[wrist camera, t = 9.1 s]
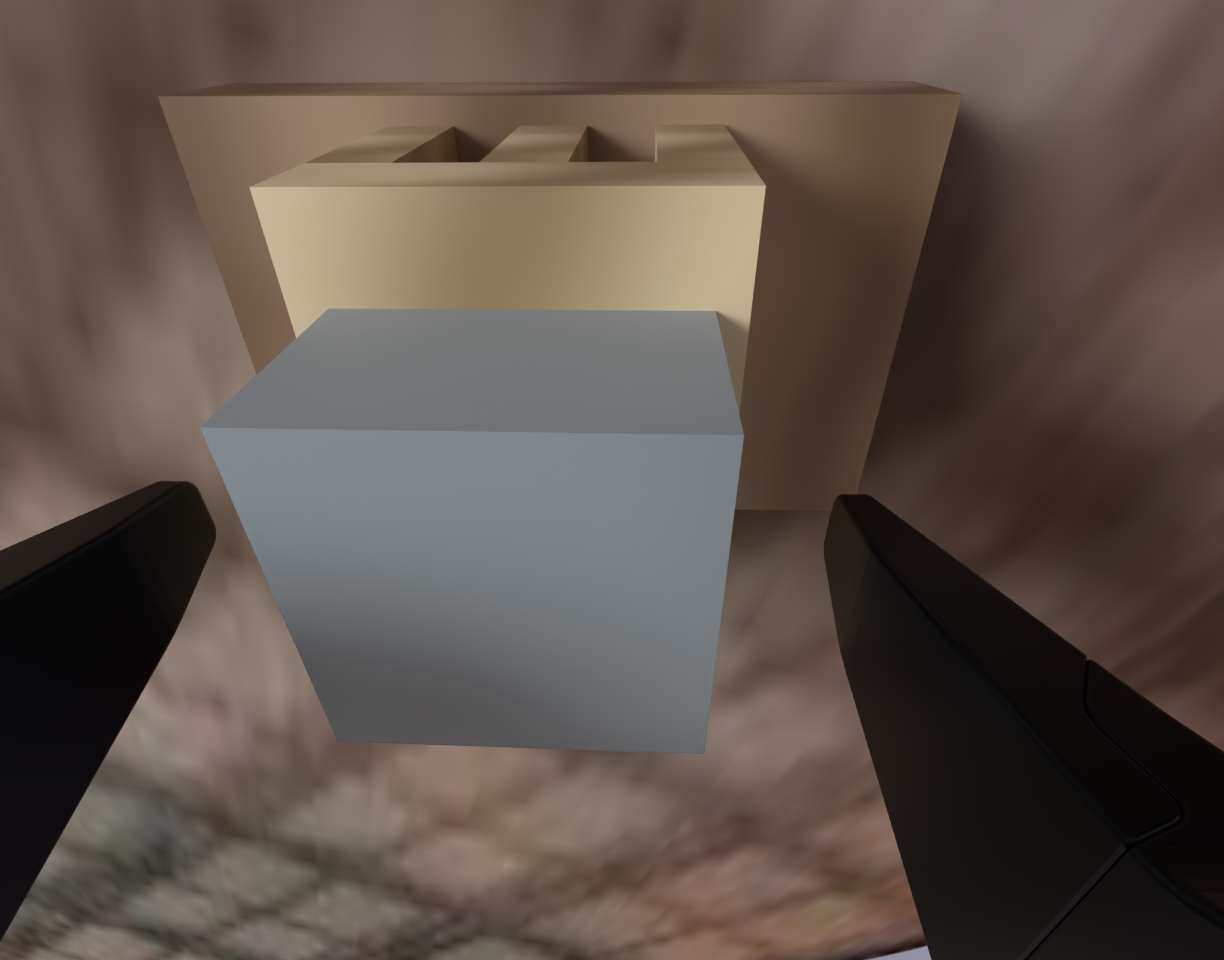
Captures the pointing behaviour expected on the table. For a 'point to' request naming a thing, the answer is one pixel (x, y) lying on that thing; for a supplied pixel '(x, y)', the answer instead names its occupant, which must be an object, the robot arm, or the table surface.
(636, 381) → the block
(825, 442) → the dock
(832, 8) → the table surface
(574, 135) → the block
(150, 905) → the table surface
